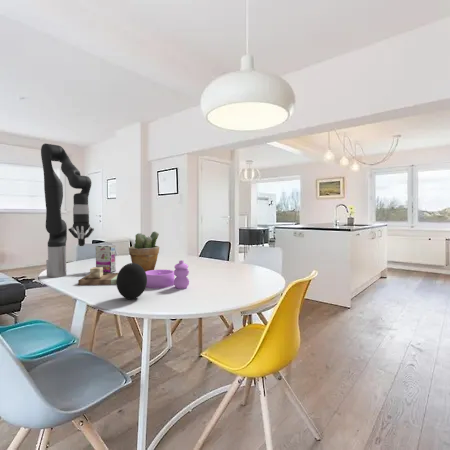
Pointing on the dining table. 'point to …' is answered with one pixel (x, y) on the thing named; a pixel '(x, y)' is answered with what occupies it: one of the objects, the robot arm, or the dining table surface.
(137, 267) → the decorative egg
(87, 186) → the robot arm
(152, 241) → the potted plant
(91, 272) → the block
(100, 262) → the candy bar box
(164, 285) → the container set
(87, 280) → the board
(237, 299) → the dining table surface
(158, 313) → the dining table surface
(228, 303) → the dining table surface
